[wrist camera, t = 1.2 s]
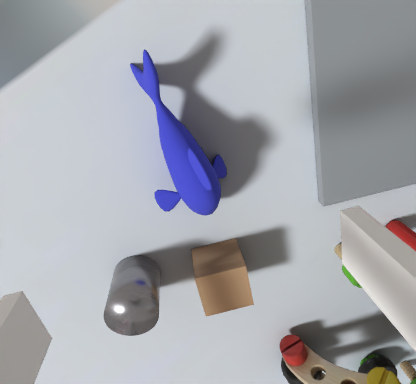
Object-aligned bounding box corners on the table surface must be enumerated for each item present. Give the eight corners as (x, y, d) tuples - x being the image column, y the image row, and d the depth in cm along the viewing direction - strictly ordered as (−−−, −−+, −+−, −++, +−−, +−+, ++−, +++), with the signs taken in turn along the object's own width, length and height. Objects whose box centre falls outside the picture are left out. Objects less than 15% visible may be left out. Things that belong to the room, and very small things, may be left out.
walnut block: (235, 237, 34) (246, 266, 29) (242, 272, 36) (253, 304, 31) (191, 248, 34) (194, 278, 29) (201, 283, 36) (206, 316, 31)
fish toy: (228, 186, 33) (266, 205, 27) (167, 224, 31) (193, 254, 25) (167, 41, 27) (198, 24, 21) (85, 78, 25) (94, 71, 19)
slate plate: (494, -62, 25) (510, -67, 24) (461, 165, 33) (471, 169, 32) (303, -17, 25) (309, -20, 24) (318, 201, 33) (323, 206, 32)
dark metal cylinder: (153, 250, 33) (150, 289, 28) (165, 285, 35) (164, 328, 30) (107, 262, 33) (95, 303, 28) (122, 296, 35) (114, 340, 30)
